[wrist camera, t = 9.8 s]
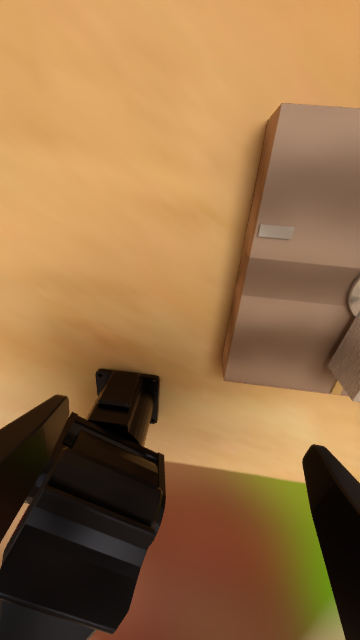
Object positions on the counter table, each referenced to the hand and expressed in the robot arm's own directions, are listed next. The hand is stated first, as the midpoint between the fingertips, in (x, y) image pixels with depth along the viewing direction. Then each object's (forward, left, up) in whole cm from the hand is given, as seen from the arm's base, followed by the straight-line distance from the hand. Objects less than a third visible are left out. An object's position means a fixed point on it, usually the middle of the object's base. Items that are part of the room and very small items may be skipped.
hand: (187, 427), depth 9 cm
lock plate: (+3, -12, -13) cm, 18 cm away
